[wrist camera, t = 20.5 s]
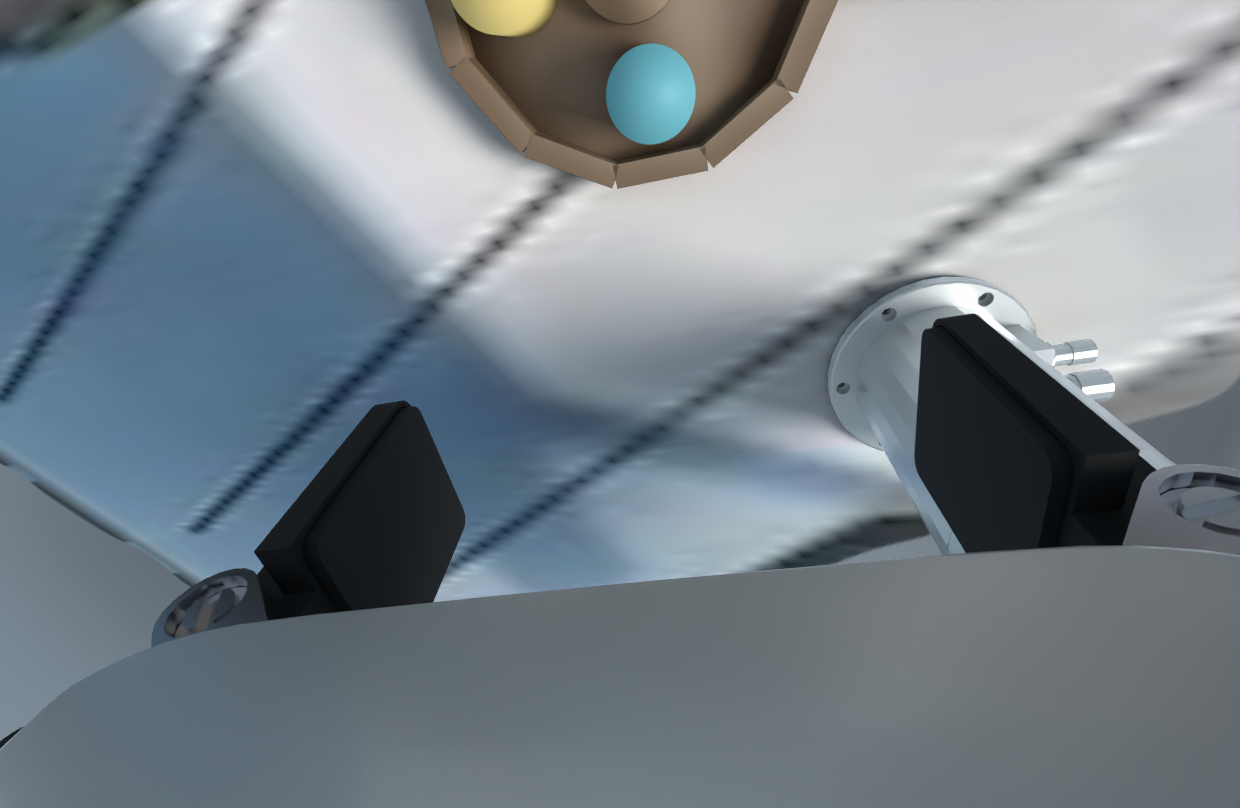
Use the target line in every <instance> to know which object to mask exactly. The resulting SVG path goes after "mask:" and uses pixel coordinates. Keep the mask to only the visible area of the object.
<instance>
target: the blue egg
mask: <svg viewBox="0 0 1240 808" xmlns="http://www.w3.org/2000/svg"><path fill="white" fill-rule="evenodd" d="M695 96H696V90H695V82H694V78H693V74H692V72H691V70H690V67H689V66H688V64H687V62H686V61H685V60H684V59H683V57H682V56H681V55H679V54H678V53H677V52H676V51H674V50H673V49H671V48H669V47H667V46H664V45H661V44H643V45H640V46H637V47H634V48H632V49H631V50H629V51H628V52H626V53H625V54H624V55H623V56H622V57H621V58H620V59H619V60H618V61H617V63H616V64H615V66H614V67H613V69H612V71H611V73H610V76H609V79H608V83H607V88H606V102H607V108H608V112H609V114H610V117H611V119H612V121H613V123H614V124H615V126H616V127H617V129H618V130H619V131H620V132H621V133H622V134H623V135H624V136H626V137H627V138H629V139H630V140H632V141H635V142H637V143H641V144H649V145H652V144H659V143H662V142H665V141H667V140H669V139H671V138H673V137H674V136H675V135H677V134H678V133H679V132H680V131H681V130H682V129H683V128H684V126H685V125H686V124H687V122H688V120H689V119H690V116H691V114H692V111H693V108H694V104H695Z"/></svg>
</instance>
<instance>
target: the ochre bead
mask: <svg viewBox="0 0 1240 808" xmlns="http://www.w3.org/2000/svg"><path fill="white" fill-rule="evenodd" d="M451 2H452V4H453V6H454V8H455V9H456V11H457V12H458V14H459V15H460V16H461V17H462V18H463V19H464V21H465V22H467V23H468V24H469V25H470V26H472V27H473V28H475V29H476V30H478V31H481V32H483V33H486V34H491V35H500V36H509V37H529V36H532V35H534V34H536V33H538V32H539V31H541V30H542V29H543V28H544V27H545V26H546V25H547V24H548V23H549V21H550V19H551V18H552V16H553V14H554V11H555V8H556V4H557V0H451Z"/></svg>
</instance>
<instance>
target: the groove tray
mask: <svg viewBox="0 0 1240 808" xmlns="http://www.w3.org/2000/svg"><path fill="white" fill-rule="evenodd" d="M425 1H426V4H427V7H428V11H429V14H430V17H431V21H432V24H433V27H434V30H435V34H436V37H437V40H438V43H439V47H440V50H441V53H442V56H443V60H444V63H445V66H446V68H452V67H455V68H454V69H453V70H452V71H451V72H450V75H451V76H452V77H453V79H454V80H455V81H456V82H457V83H458V84H459V85H460V86H461V88H462V89H463V90H464V91H465V92H466V93H467V94H468V95H469V97H470V98H471V99H472V100H473V101H474V102H475V103H476V104H477V106H478V107H479V108H480V109H481V110H482V111H483V112H484V113H485V115H486V116H487V117H488V118H489V119H490V120H491V121H492V122H493V124H494V125H495V126H496V127H497V128H498V129H499V130H500V131H501V133H502V134H503V135H504V136H505V137H506V138H507V139H508V141H509V142H510V143H511V144H512V145H513V146H514V147H515V148H516V150H517V151H518V152H519V153H521V152H523V151H524V150H526V153H525V157H527V158H530V159H532V160H535V161H538V162H541V163H544V164H546V165H549V166H552V167H555V168H557V169H560V170H563V171H566V172H568V173H571V174H574V175H577V176H579V177H582V178H585V179H588V180H590V181H593V182H596V183H599V184H601V185H604V186H607V187H610V188H612V187H613V185H614V182H615V179H616V184H617V189H619V188H624V187H629V186H634V185H638V184H643V183H648V182H653V181H658V180H663V179H668V178H673V177H678V176H683V175H688V174H693V173H698V172H703V171H708V165H707V160H708V162H709V163H710V164H711V166H712V167H713V168H714V167H715V166H716V165H717V164H718V163H719V162H721V161H722V160H723V159H724V158H725V157H726V156H728V155H729V154H730V153H731V152H732V151H733V150H735V149H736V148H737V147H738V146H739V145H740V144H741V143H743V142H744V141H745V140H746V139H747V138H748V137H750V136H751V135H752V134H753V133H754V132H755V131H757V130H758V129H759V128H760V127H761V126H762V125H763V124H765V123H766V122H767V121H768V120H769V119H770V118H772V117H773V116H774V115H775V114H776V113H777V112H778V111H780V110H781V109H782V108H783V107H784V106H785V105H787V104H788V103H789V102H790V101H791V100H792V99H793V97H792V96H791V94H790V93H789V91H792V92H795V93H798V91H799V88H800V86H801V84H802V81H803V79H804V77H805V75H806V72H807V70H808V68H809V65H810V63H811V61H812V59H813V56H814V54H815V52H816V49H817V47H818V45H819V43H820V40H821V38H822V36H823V33H824V31H825V29H826V27H827V24H828V22H829V20H830V18H831V15H832V13H833V11H834V8H835V6H836V4H837V2H838V0H557V4H556V8H555V11H554V14H553V16H552V18H551V19H550V21H549V23H548V24H547V25H546V26H545V27H544V28H543V29H542V30H541V31H539V32H538V33H536V34H534V35H532V36H529V37H509V36H500V35H491V34H486V33H483V32H481V31H478V30H476V29H475V28H473V27H472V26H470V25H469V24H468V23H467V22H465V21H464V19H463V18H462V17H461V16H460V15H459V14H458V12H457V11H456V9H455V8H454V6H453V4H452V2H451V0H425ZM643 44H661V45H664V46H667V47H669V48H671V49H673V50H674V51H676V52H677V53H678V54H679V55H681V56H682V57H683V59H684V60H685V61H686V62H687V64H688V66H689V67H690V70H691V72H692V74H693V78H694V82H695V90H696V96H695V104H694V108H693V111H692V114H691V116H690V119H689V120H688V122H687V124H686V125H685V126H684V128H683V129H682V130H681V131H680V132H679V133H678V134H677V135H675V136H674V137H673V138H671V139H669V140H667V141H665V142H662V143H659V144H652V145H649V144H641V143H637V142H635V141H632V140H630V139H629V138H627V137H626V136H624V135H623V134H622V133H621V132H620V131H619V130H618V129H617V127H616V126H615V124H614V123H613V121H612V119H611V117H610V114H609V112H608V108H607V102H606V88H607V83H608V79H609V76H610V73H611V71H612V69H613V67H614V66H615V64H616V63H617V61H618V60H619V59H620V58H621V57H622V56H623V55H624V54H625V53H626V52H628V51H629V50H631V49H632V48H634V47H637V46H640V45H643ZM788 90H789V91H788Z"/></svg>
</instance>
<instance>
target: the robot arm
mask: <svg viewBox="0 0 1240 808" xmlns="http://www.w3.org/2000/svg"><path fill="white" fill-rule="evenodd" d="M981 295H982V296H981ZM980 296H981V297H980ZM887 308H888V310H887V311H886V312H884V313H883V311H884V310H885V309H887ZM1097 356H1098V349H1097V346H1096V344H1095V343H1094V341H1093V340H1090V339H1086V340H1079V341H1072V342H1065V343H1064V344H1059V345H1052V346H1051V345H1050V344H1049V343H1048V342H1044V341H1043V340H1041V339H1040V338H1039V337H1037V333H1036V329H1035V325H1034V323H1033V321H1032V319H1031V318H1030V316H1029V314H1028V312H1027V311H1026V309H1025V308H1024V307H1023V306H1022V305H1021V304H1020V303H1019V302H1018V301H1017V300H1016V299H1015V298H1014V297H1012V296H1011V295H1009V294H1008V293H1006V292H1005V291H1003V290H1002V289H1000V288H998V287H996V286H994V285H992V284H989V283H987V282H985V281H982V280H977V279H972V278H967V277H938V278H932V279H926V280H921V281H918V282H915V283H912V284H909V285H906V286H903V287H900V288H899V289H897V290H895V291H893V292H891V293H889V294H887V295H885V296H883V297H881V298H880V299H879V300H877V301H876V302H875V303H873V304H872V305H870V306H869V307H868V308H866V309H865V310H864V311H863V312H862V313H861V314H860V315H859V316H858V317H857V318H856V319H855V320H854V321H853V322H852V323H851V324H850V325H849V327H848V328H847V330H846V331H845V332H844V334H843V335H842V337H841V338H840V340H839V342H838V344H837V346H836V348H835V350H834V352H833V354H832V357H831V361H830V365H829V369H828V392H829V397H830V402H831V404H832V406H833V408H834V411H835V413H836V415H837V417H838V418H839V420H840V421H841V423H842V425H843V426H844V427H845V428H846V429H847V430H848V431H849V432H850V433H851V434H852V435H853V436H854V437H855V438H857V439H858V440H860V441H861V442H863V443H865V444H866V445H868V446H870V447H873V448H875V449H878V450H881V451H884V452H885V453H886V455H887V457H888V459H889V461H890V462H891V464H892V466H893V468H894V470H895V471H896V473H897V475H898V477H899V478H900V480H901V482H902V484H903V486H904V487H905V489H906V491H907V493H908V495H909V496H910V498H911V500H912V502H913V504H914V505H915V507H916V509H917V511H918V512H919V514H920V516H921V518H922V520H923V521H924V523H925V525H926V527H927V529H928V530H929V532H930V534H931V536H932V538H933V539H934V541H935V543H936V545H937V546H938V548H939V550H940V552H941V554H942V555H939V556H927V557H917V558H905V559H894V560H882V561H871V562H860V563H848V564H836V565H825V566H813V567H802V568H790V569H779V570H768V571H757V572H745V573H734V574H723V575H712V576H701V577H690V578H679V579H668V580H657V581H646V582H636V583H625V584H614V585H604V586H593V587H583V588H573V589H562V590H552V591H542V592H532V593H521V594H511V595H501V596H491V597H481V598H471V599H461V600H452V601H442V602H433V601H434V599H435V596H436V594H437V592H438V589H439V587H440V584H441V582H442V580H443V577H444V575H445V572H446V570H447V568H448V565H449V563H450V560H451V558H452V556H453V553H454V551H455V548H456V546H457V544H458V541H459V539H460V537H461V534H462V532H463V529H464V526H465V514H464V510H463V507H462V505H461V503H460V501H459V498H458V496H457V494H456V492H455V489H454V487H453V485H452V482H451V480H450V478H449V476H448V473H447V471H446V469H445V466H444V464H443V462H442V460H441V457H440V455H439V453H438V450H437V448H436V446H435V444H434V441H433V439H432V437H431V435H430V432H429V430H428V428H427V425H426V423H425V421H424V419H423V416H422V414H421V412H420V410H419V409H418V408H417V407H415V406H413V407H411V406H410V405H409V403H408V402H406V401H398V402H391V403H385V404H378V405H375V406H373V407H372V408H371V409H370V411H369V412H368V413H367V414H366V416H365V417H364V418H363V419H362V420H361V422H360V423H359V424H358V425H357V427H356V428H355V429H354V430H353V431H352V433H351V434H350V435H349V436H348V438H347V439H346V440H345V441H344V442H343V444H342V445H341V446H340V447H339V449H338V450H337V451H336V452H335V453H334V455H333V456H332V457H331V458H330V459H329V461H328V462H327V463H326V464H325V466H324V467H323V468H322V469H321V470H320V472H319V473H318V474H317V475H316V477H315V478H314V479H313V480H312V481H311V483H310V484H309V485H308V486H307V488H306V489H305V490H304V491H303V492H302V494H301V495H300V496H299V497H298V499H297V500H296V501H295V502H294V503H293V505H292V506H291V507H290V508H289V510H288V511H287V512H286V513H285V514H284V516H283V517H282V518H281V519H280V521H279V522H278V523H277V524H276V525H275V527H274V528H273V529H272V530H271V532H270V533H269V534H268V535H267V536H266V538H265V539H264V540H263V541H262V543H261V544H260V545H259V546H258V547H257V549H256V550H255V551H254V553H255V554H256V555H257V557H258V558H259V560H260V561H261V563H262V564H263V565H264V567H263V568H262V569H261V571H260V572H259V573H258V575H256V574H255V572H254V571H252V570H249V569H246V568H243V569H232V570H228V571H224V572H220V573H218V574H216V575H213V576H211V577H209V578H207V579H204V580H203V581H201V582H199V583H198V584H196V585H194V586H193V587H191V588H189V589H188V590H187V591H185V592H184V593H183V594H182V595H180V596H179V597H178V598H176V599H175V600H174V601H173V602H172V603H171V604H170V605H169V606H168V607H167V608H166V609H165V610H164V611H163V612H162V614H161V616H160V617H159V619H158V620H157V622H156V623H155V625H154V629H153V632H152V644H151V648H148V649H146V650H143V651H141V652H139V653H136V654H134V655H132V656H129V657H127V658H124V659H122V660H120V661H117V662H115V663H113V664H111V665H109V666H107V667H105V668H103V669H102V670H100V671H97V672H95V673H94V674H92V675H90V676H88V677H86V678H84V679H83V680H80V681H79V682H77V683H75V684H74V685H72V686H71V687H69V688H68V689H67V690H65V691H64V692H63V693H61V694H60V695H59V696H57V697H56V698H55V699H54V700H53V701H52V702H50V703H49V704H48V705H47V706H46V707H45V708H44V709H42V710H41V711H40V712H39V713H38V714H37V715H36V716H35V717H34V718H33V719H32V720H30V721H29V722H28V723H27V724H26V725H25V726H24V727H22V728H20V729H18V730H16V731H15V732H13V733H11V734H10V735H8V736H7V737H5V738H4V739H3V740H1V741H0V808H1240V471H1239V470H1236V469H1232V468H1225V467H1219V466H1212V465H1204V464H1181V465H1175V464H1174V463H1173V462H1171V461H1170V460H1168V459H1167V458H1166V457H1164V456H1163V455H1162V454H1161V453H1159V452H1158V451H1157V450H1156V449H1154V448H1153V447H1152V446H1151V445H1149V444H1148V443H1147V442H1146V441H1144V440H1143V439H1142V438H1141V437H1139V436H1138V435H1137V434H1136V433H1134V432H1133V431H1132V430H1131V429H1129V428H1128V427H1127V426H1126V425H1124V424H1123V423H1122V422H1121V421H1119V420H1118V419H1117V418H1116V417H1114V416H1113V415H1112V414H1111V413H1109V412H1108V411H1107V410H1106V409H1104V408H1103V407H1102V406H1101V405H1099V404H1098V403H1097V401H1105V400H1109V399H1110V398H1112V396H1113V394H1114V391H1115V388H1114V381H1113V378H1112V376H1111V375H1110V374H1109V372H1108V371H1106V370H1103V369H1098V370H1091V371H1083V372H1076V373H1070V374H1067V375H1064V376H1063V375H1062V374H1061V373H1060V372H1058V371H1057V370H1056V369H1055V368H1054V366H1061V365H1076V364H1083V363H1091V362H1093V361H1095V360H1096V358H1097ZM840 383H842V384H840Z"/></svg>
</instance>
